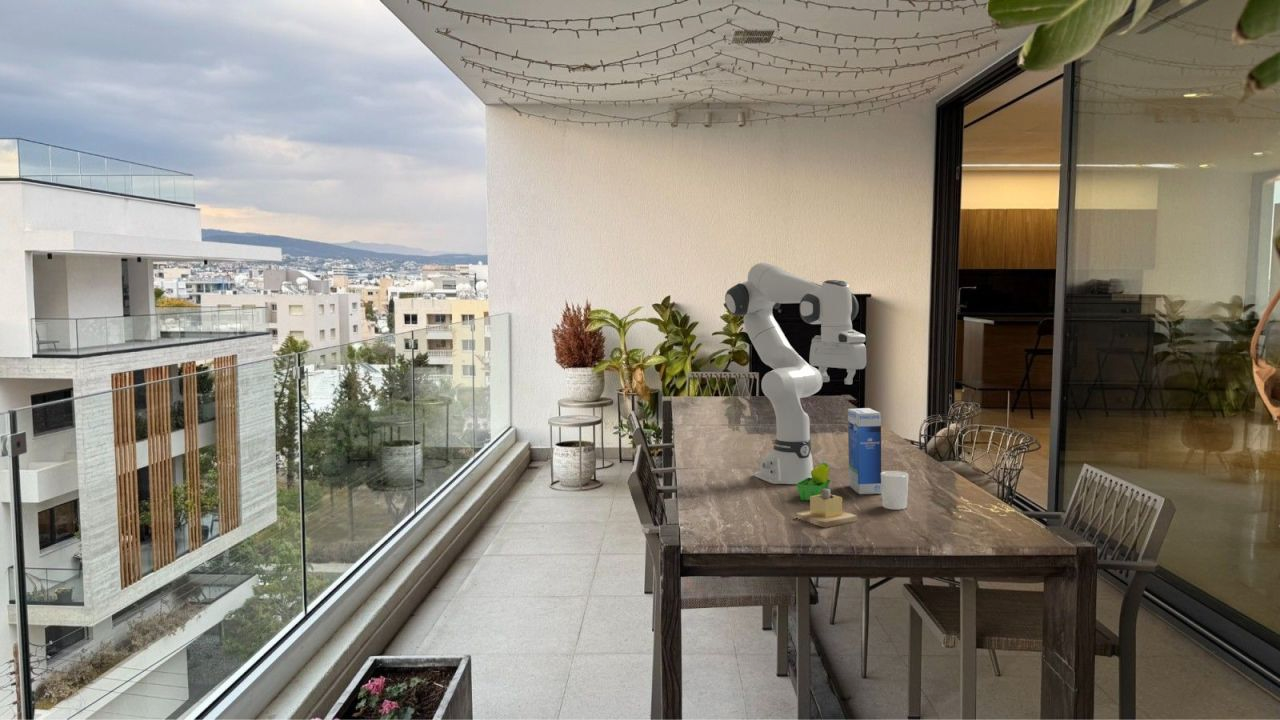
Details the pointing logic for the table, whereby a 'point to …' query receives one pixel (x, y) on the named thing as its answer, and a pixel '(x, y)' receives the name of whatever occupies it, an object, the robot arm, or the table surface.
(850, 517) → the shaft block
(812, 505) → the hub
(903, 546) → the table surface
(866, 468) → the string lights box
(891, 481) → the white cup
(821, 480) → the fruit basket
